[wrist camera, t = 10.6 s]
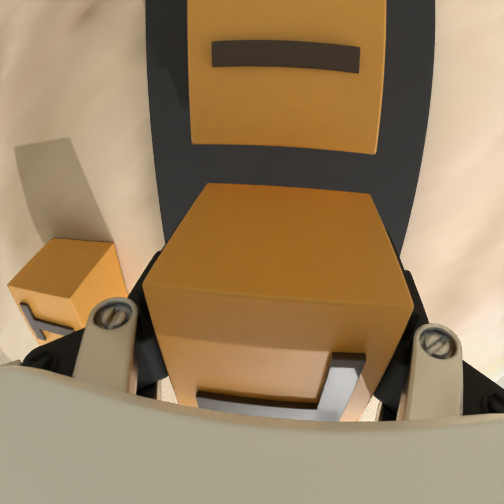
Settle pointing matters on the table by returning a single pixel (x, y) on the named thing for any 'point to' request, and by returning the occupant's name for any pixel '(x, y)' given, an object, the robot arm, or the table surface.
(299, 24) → the letter I
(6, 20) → the table surface
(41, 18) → the table surface
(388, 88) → the word mat
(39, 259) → the letter T
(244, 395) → the letter L
